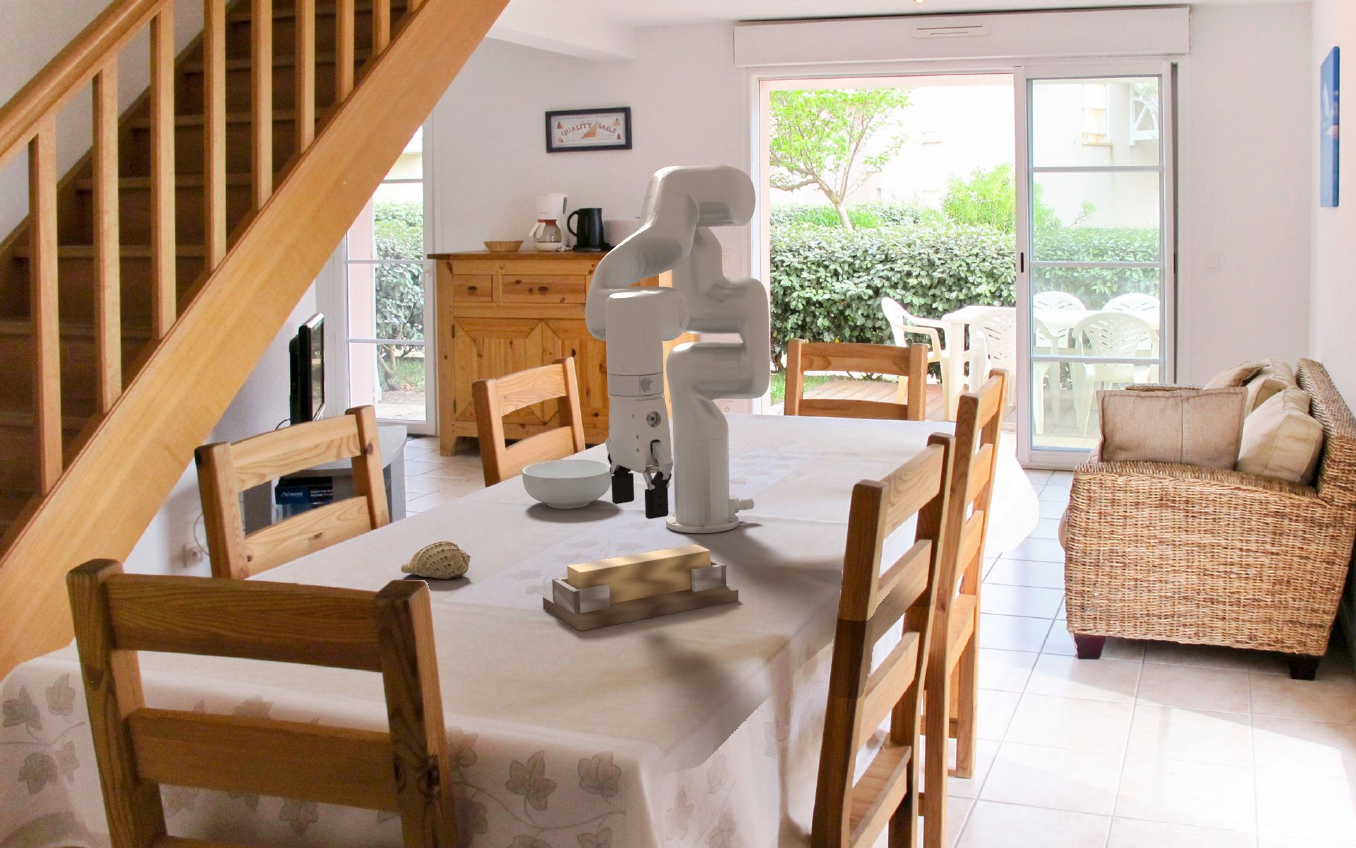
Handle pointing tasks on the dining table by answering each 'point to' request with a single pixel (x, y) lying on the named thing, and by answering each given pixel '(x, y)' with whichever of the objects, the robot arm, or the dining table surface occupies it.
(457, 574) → the seashell
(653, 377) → the robot arm
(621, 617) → the endcap base
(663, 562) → the slat
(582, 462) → the cereal bowl
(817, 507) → the dining table surface
